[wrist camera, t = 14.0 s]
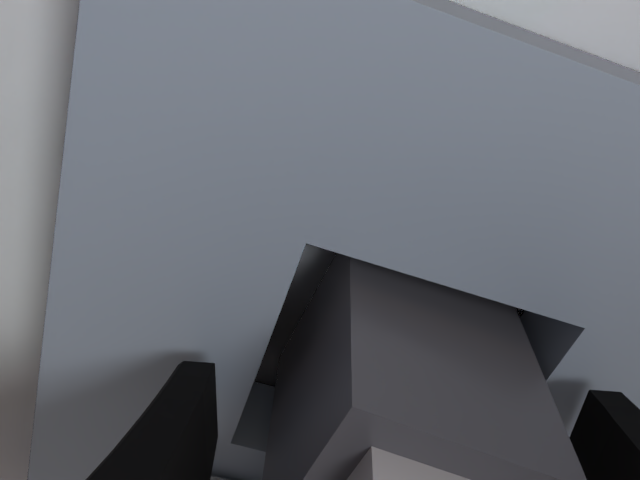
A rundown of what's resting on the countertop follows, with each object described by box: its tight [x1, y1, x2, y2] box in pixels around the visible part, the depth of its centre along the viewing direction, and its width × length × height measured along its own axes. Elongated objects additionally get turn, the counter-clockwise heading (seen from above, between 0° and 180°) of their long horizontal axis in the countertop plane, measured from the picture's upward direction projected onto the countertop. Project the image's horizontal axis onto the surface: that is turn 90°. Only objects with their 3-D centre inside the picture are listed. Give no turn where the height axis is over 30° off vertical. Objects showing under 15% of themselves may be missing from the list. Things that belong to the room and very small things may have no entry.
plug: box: [262, 253, 587, 480], centre depth 11 cm, size 4×4×6 cm
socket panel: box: [27, 0, 640, 480], centre depth 13 cm, size 17×16×2 cm
